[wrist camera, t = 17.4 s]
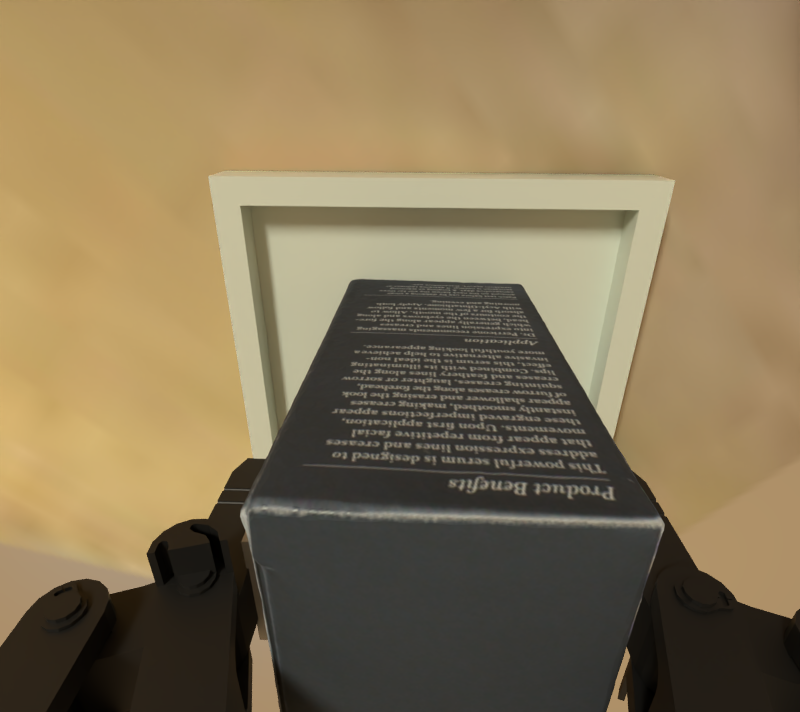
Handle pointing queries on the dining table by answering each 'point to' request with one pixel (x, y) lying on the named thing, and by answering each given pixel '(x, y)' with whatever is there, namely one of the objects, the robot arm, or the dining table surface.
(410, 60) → the dining table surface
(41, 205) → the dining table surface
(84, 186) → the dining table surface
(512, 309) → the box
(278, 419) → the tray
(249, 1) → the dining table surface
